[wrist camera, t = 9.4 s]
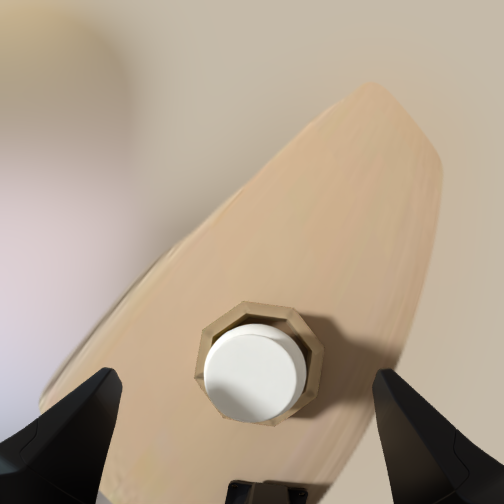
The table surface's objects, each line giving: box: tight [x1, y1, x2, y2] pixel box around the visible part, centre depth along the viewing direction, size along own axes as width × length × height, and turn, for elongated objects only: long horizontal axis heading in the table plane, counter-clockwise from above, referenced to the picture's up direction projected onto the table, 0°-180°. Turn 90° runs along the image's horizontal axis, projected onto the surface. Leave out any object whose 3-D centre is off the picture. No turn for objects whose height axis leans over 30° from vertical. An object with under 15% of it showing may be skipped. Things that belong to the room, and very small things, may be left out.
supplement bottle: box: [204, 324, 306, 423], centre depth 15 cm, size 5×5×10 cm
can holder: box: [194, 301, 325, 427], centre depth 19 cm, size 8×8×3 cm
